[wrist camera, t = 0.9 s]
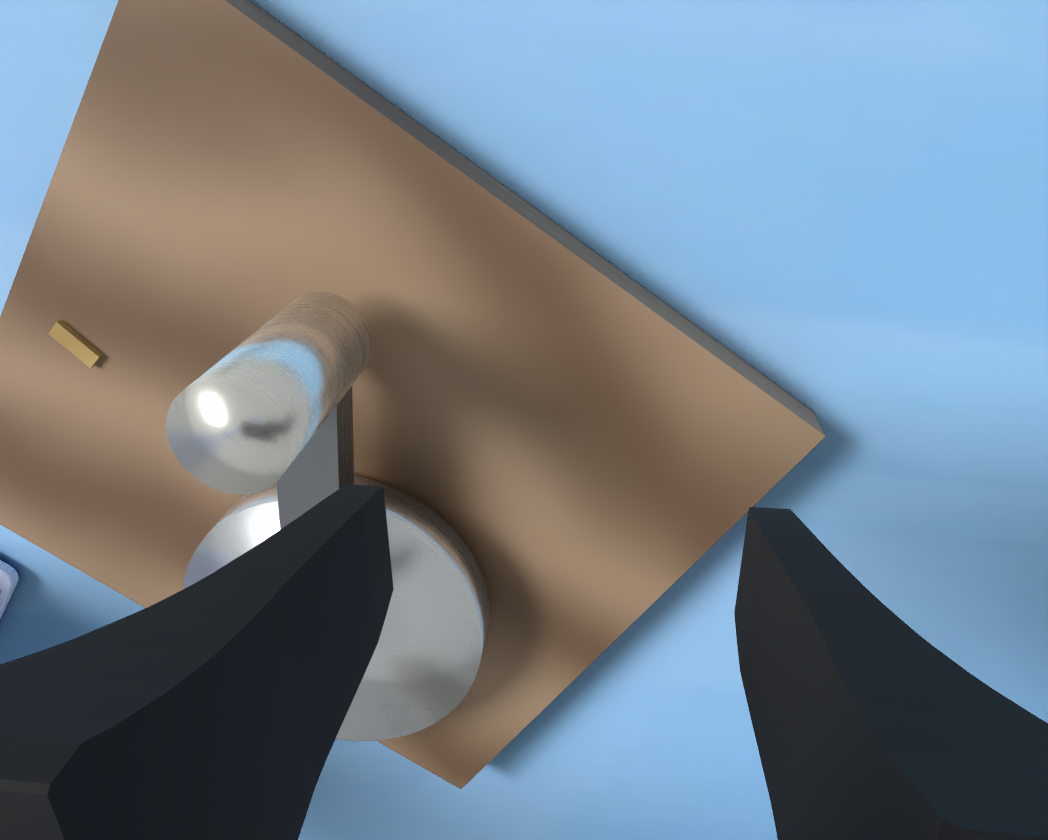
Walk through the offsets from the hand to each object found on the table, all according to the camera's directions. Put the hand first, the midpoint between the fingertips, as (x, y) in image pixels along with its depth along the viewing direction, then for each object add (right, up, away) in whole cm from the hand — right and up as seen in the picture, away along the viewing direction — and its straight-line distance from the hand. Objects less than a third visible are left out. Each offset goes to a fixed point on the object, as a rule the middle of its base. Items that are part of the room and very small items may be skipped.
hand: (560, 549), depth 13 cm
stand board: (-6, +1, +12) cm, 13 cm away
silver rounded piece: (-6, -1, +11) cm, 12 cm away
